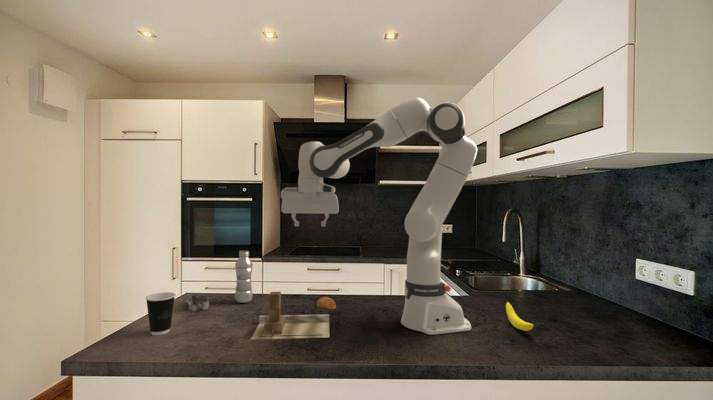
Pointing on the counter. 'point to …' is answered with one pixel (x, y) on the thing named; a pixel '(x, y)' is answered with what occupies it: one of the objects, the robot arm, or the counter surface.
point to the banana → (517, 319)
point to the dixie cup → (160, 312)
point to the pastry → (326, 303)
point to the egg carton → (198, 302)
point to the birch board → (297, 327)
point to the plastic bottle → (243, 277)
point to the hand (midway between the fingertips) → (310, 226)
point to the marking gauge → (274, 315)
